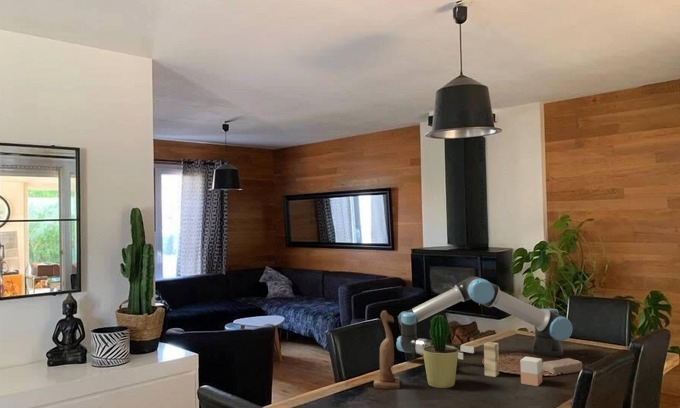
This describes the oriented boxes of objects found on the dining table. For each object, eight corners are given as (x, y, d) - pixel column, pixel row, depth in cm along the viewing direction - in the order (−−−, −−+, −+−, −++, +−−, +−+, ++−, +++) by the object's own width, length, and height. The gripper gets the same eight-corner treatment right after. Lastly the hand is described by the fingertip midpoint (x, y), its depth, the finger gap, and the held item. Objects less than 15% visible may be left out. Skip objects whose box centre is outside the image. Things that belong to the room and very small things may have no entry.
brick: (554, 376, 231) (554, 365, 231) (541, 371, 239) (541, 360, 239) (583, 372, 236) (583, 361, 236) (569, 367, 244) (569, 357, 244)
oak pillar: (488, 372, 237) (487, 341, 237) (499, 374, 234) (498, 343, 234) (484, 375, 233) (483, 344, 233) (495, 377, 230) (494, 345, 230)
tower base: (525, 379, 226) (525, 367, 226) (542, 382, 222) (541, 370, 222) (520, 383, 221) (520, 371, 221) (537, 386, 216) (537, 374, 217)
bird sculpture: (401, 390, 215) (402, 313, 217) (373, 389, 216) (374, 312, 217) (399, 382, 226) (399, 308, 228) (372, 381, 227) (373, 308, 228)
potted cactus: (452, 391, 211) (450, 318, 212) (417, 385, 219) (416, 315, 220) (464, 381, 224) (462, 312, 225) (431, 376, 232) (429, 309, 233)
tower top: (525, 367, 226) (525, 356, 226) (542, 370, 222) (541, 358, 222) (520, 371, 221) (520, 360, 221) (537, 374, 216) (537, 362, 217)
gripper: (437, 349, 262) (478, 355, 250) (415, 360, 242) (458, 367, 229) (437, 334, 262) (477, 339, 250) (415, 344, 242) (458, 350, 230)
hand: (468, 353), depth 240 cm, fingers open, 13 cm apart
